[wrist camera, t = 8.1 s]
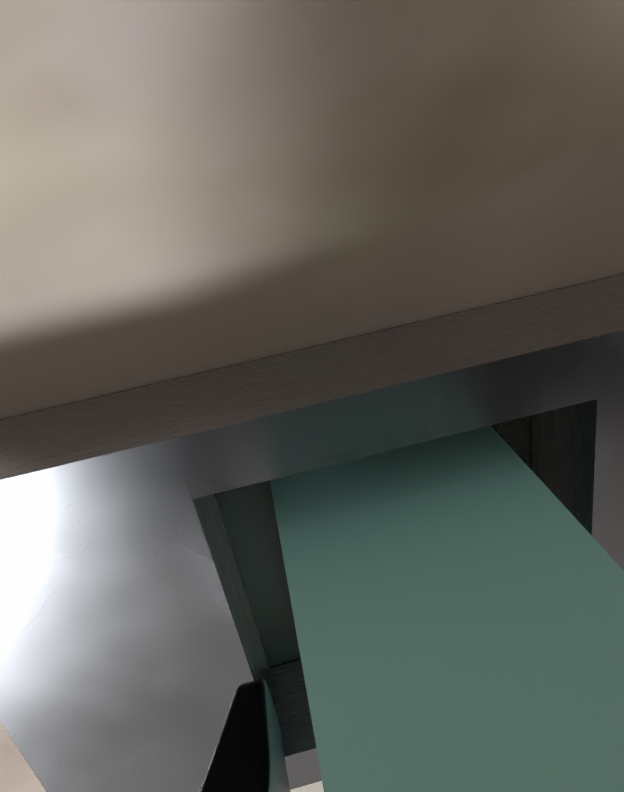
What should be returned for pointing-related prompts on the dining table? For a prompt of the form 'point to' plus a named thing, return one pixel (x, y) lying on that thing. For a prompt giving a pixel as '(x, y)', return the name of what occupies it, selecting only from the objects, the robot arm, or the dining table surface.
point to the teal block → (453, 624)
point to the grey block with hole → (206, 534)
